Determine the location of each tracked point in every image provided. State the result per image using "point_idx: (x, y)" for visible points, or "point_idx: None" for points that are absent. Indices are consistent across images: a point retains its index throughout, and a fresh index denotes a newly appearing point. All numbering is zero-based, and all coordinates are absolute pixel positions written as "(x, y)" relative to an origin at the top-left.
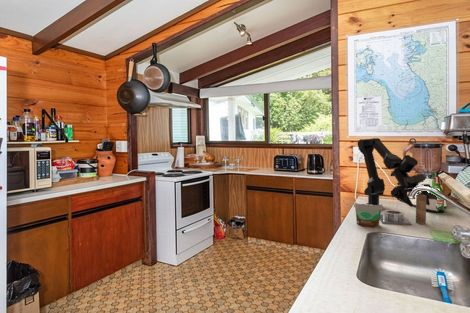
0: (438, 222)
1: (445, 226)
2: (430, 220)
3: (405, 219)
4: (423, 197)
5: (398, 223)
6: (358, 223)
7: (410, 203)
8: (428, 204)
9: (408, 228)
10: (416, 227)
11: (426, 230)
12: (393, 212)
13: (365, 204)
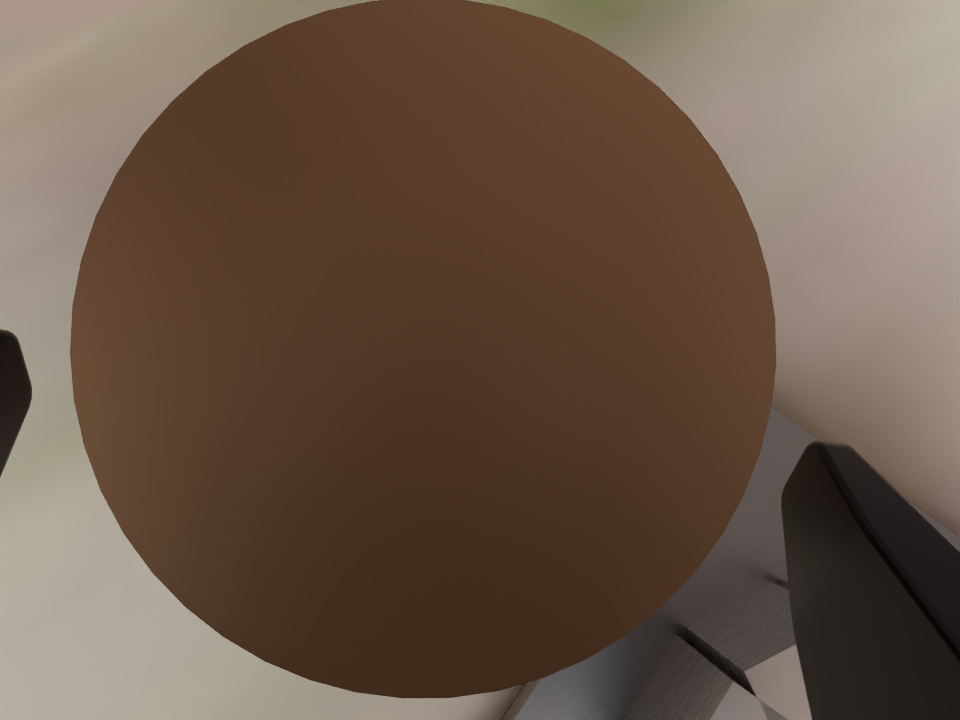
0: (27, 291)
1: (165, 56)
2: (42, 462)
3: (612, 646)
4: (574, 72)
5: (934, 521)
6: None
7: (914, 516)
8: (21, 363)
9: (935, 258)
10: None
11: (724, 45)
12: None
13: None
